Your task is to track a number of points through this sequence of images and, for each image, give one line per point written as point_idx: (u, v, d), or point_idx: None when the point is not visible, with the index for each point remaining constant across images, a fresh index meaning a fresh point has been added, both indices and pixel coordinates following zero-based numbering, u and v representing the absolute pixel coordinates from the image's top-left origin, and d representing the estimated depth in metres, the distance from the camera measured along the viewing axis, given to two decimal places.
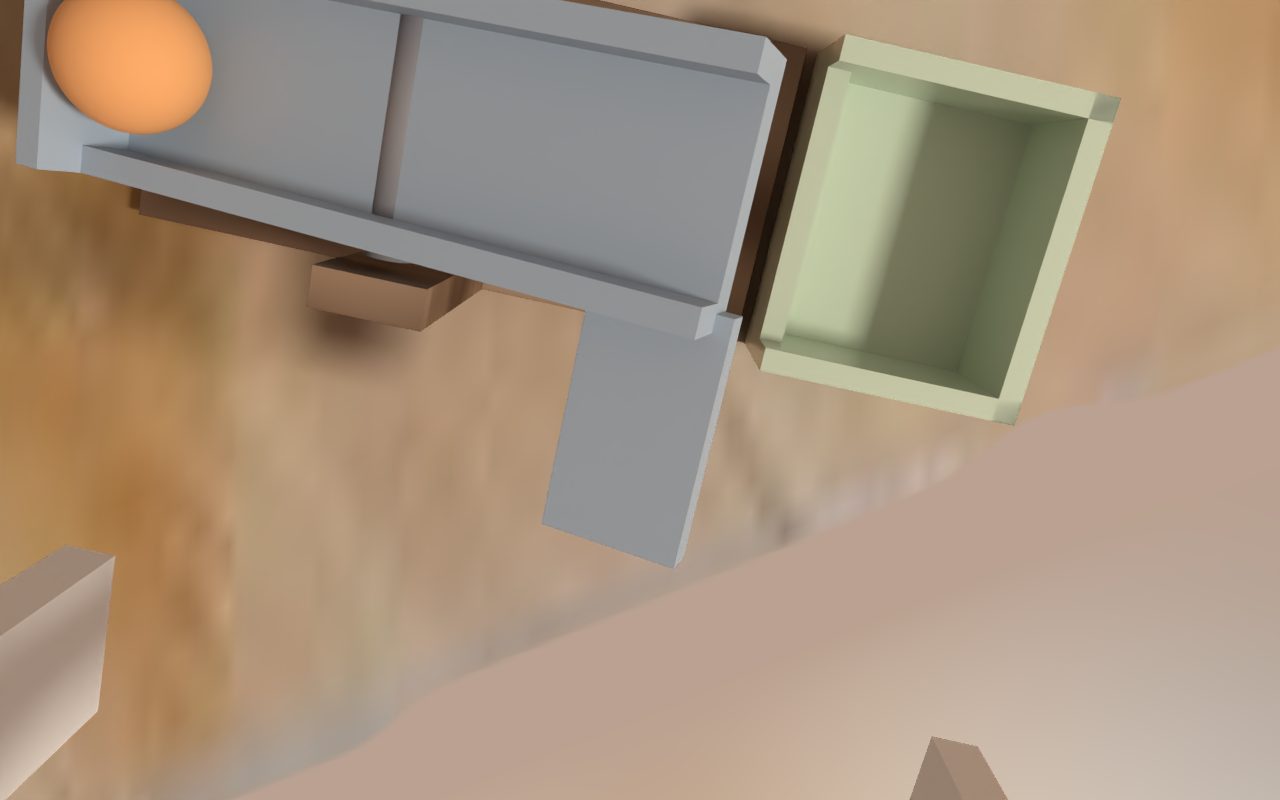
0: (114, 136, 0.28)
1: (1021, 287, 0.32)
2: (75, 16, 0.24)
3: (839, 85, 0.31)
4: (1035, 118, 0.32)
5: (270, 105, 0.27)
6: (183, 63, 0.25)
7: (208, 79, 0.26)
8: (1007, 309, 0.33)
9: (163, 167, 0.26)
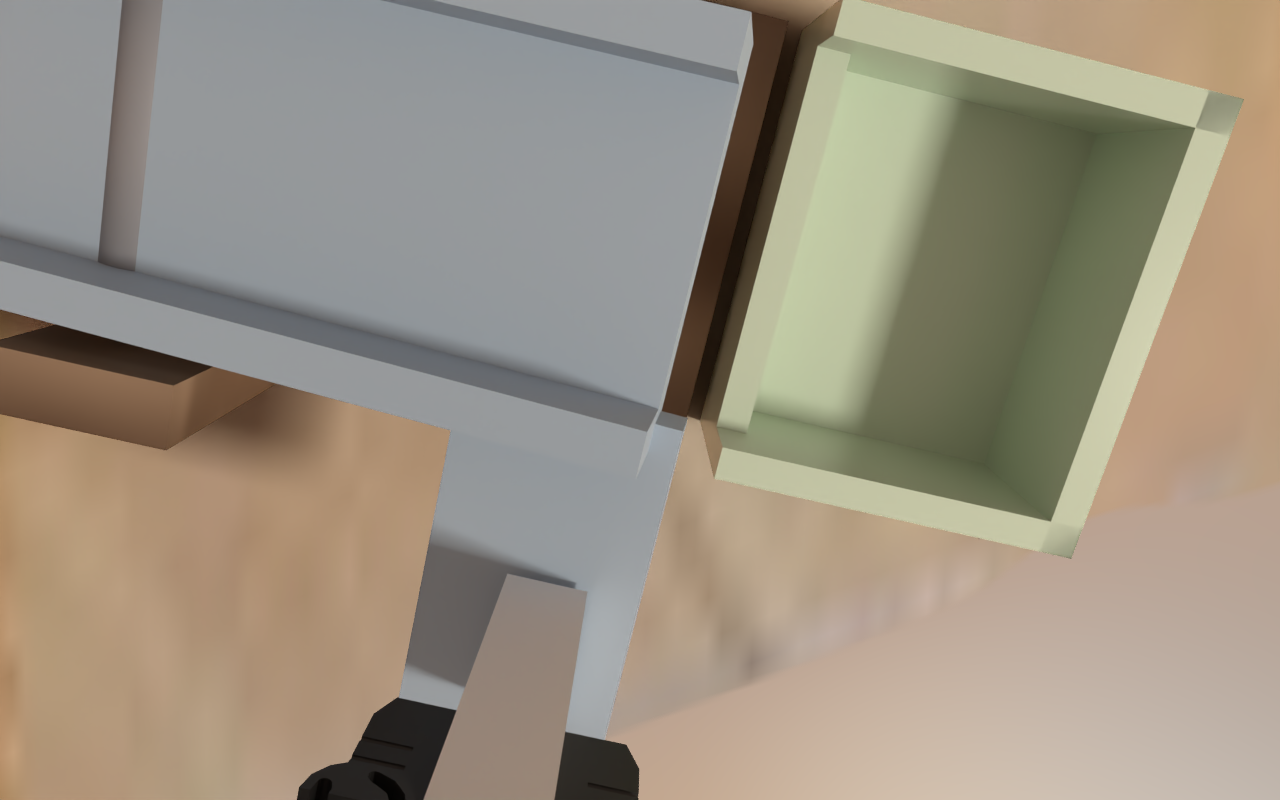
0: None
1: (1085, 365, 0.23)
2: None
3: (833, 73, 0.22)
4: (1107, 125, 0.23)
5: None
6: None
7: None
8: (1062, 392, 0.23)
9: None
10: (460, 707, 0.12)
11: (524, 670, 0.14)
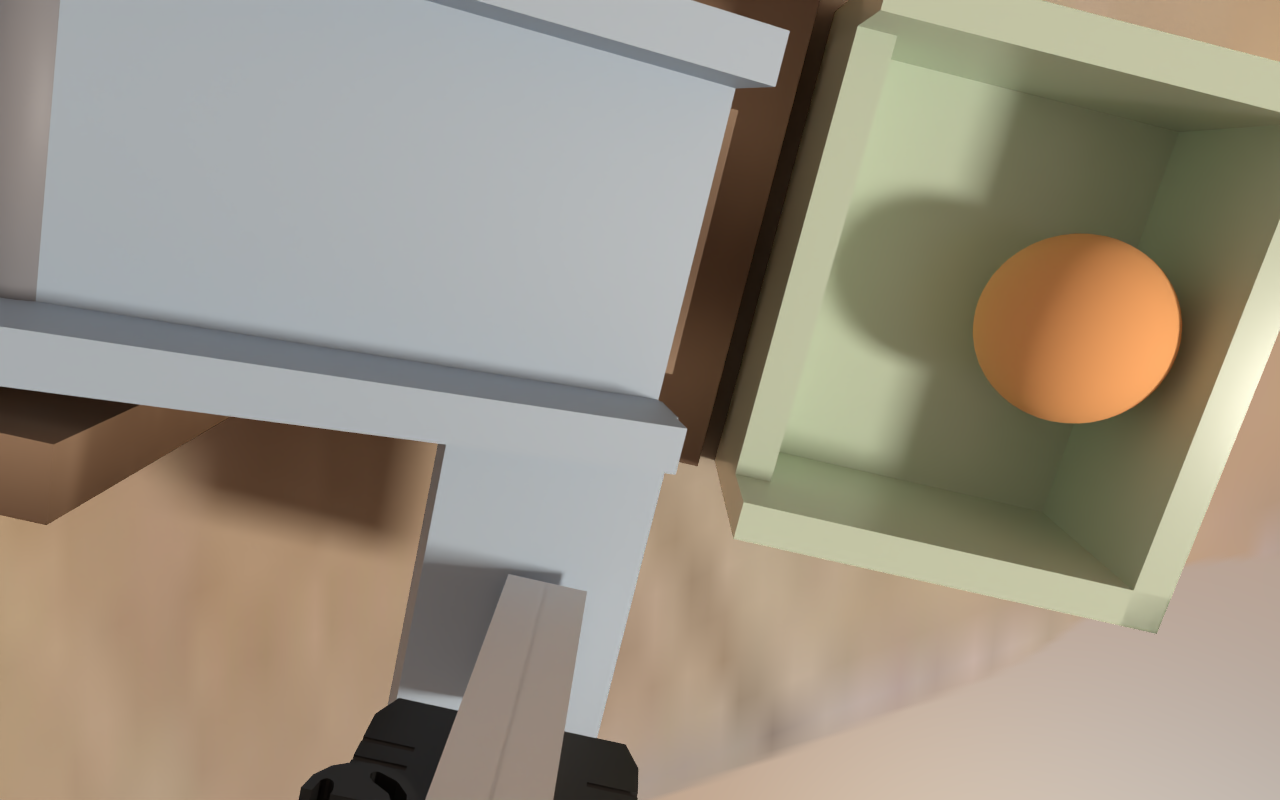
0: None
1: (1173, 404, 0.19)
2: (1175, 319, 0.18)
3: (876, 58, 0.18)
4: (1198, 120, 0.19)
5: None
6: None
7: None
8: (1143, 435, 0.20)
9: None
10: (462, 707, 0.12)
11: (523, 670, 0.14)
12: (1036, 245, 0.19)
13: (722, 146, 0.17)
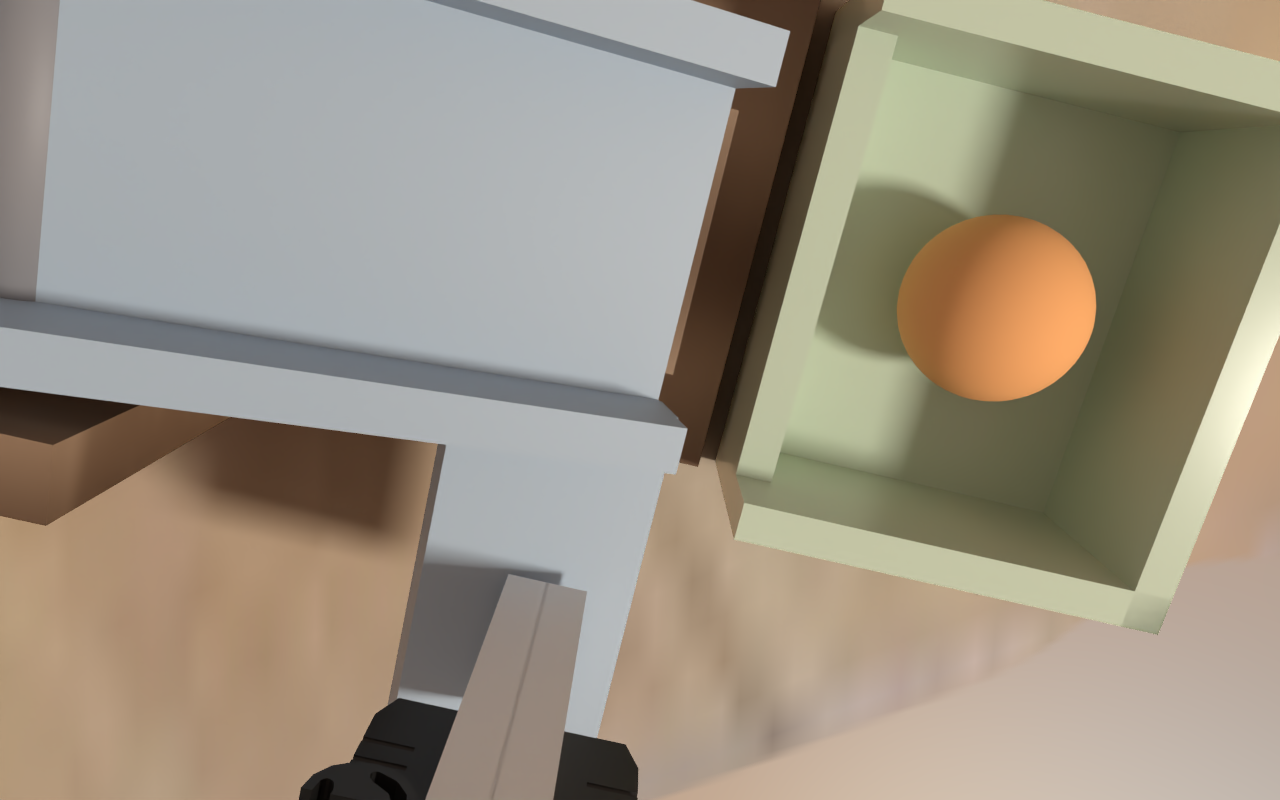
0: None
1: (1175, 404, 0.19)
2: (1088, 297, 0.19)
3: (876, 58, 0.18)
4: (1200, 121, 0.19)
5: None
6: None
7: None
8: (1145, 436, 0.20)
9: None
10: (461, 707, 0.12)
11: (523, 670, 0.14)
12: (956, 226, 0.20)
13: (723, 146, 0.17)
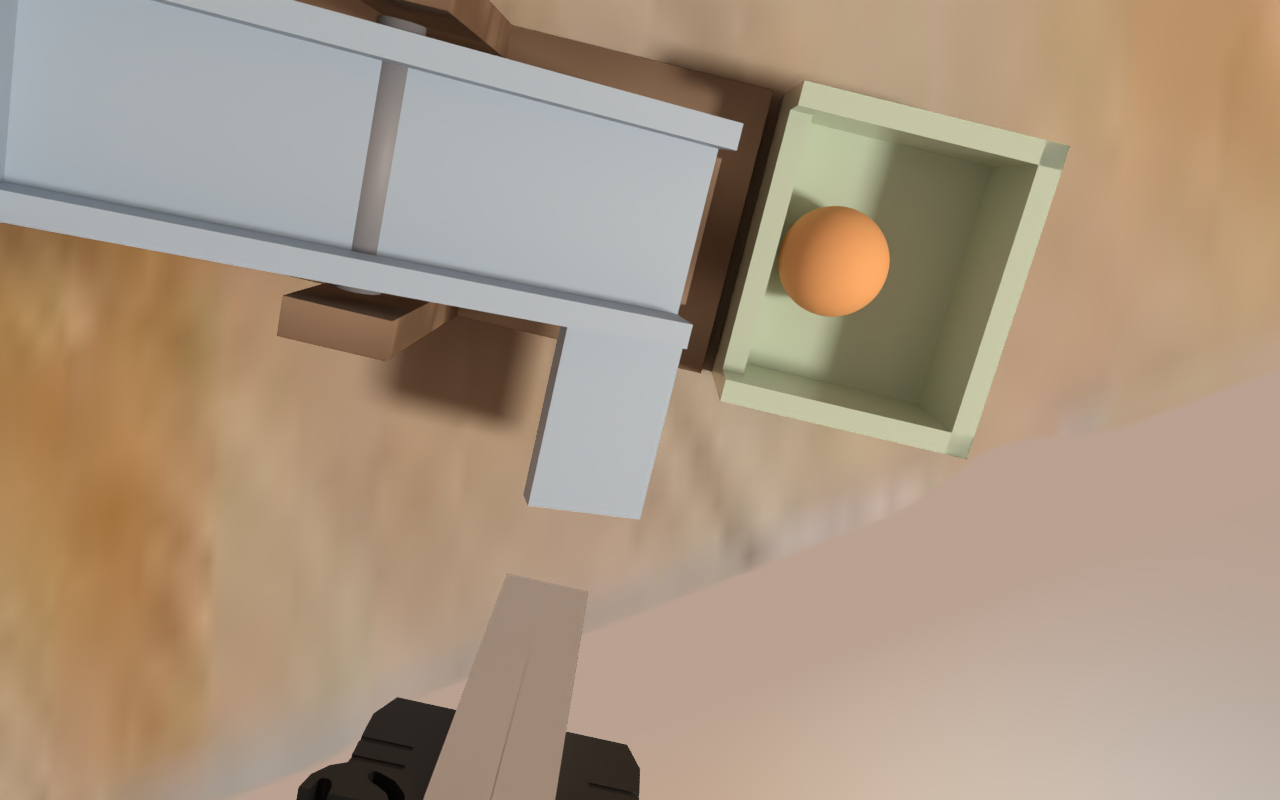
0: None
1: (975, 325, 0.33)
2: (845, 244, 0.32)
3: (801, 127, 0.32)
4: (991, 162, 0.33)
5: (220, 140, 0.26)
6: None
7: None
8: (962, 346, 0.34)
9: (115, 213, 0.24)
10: (460, 707, 0.12)
11: (525, 670, 0.14)
12: None
13: (713, 178, 0.31)
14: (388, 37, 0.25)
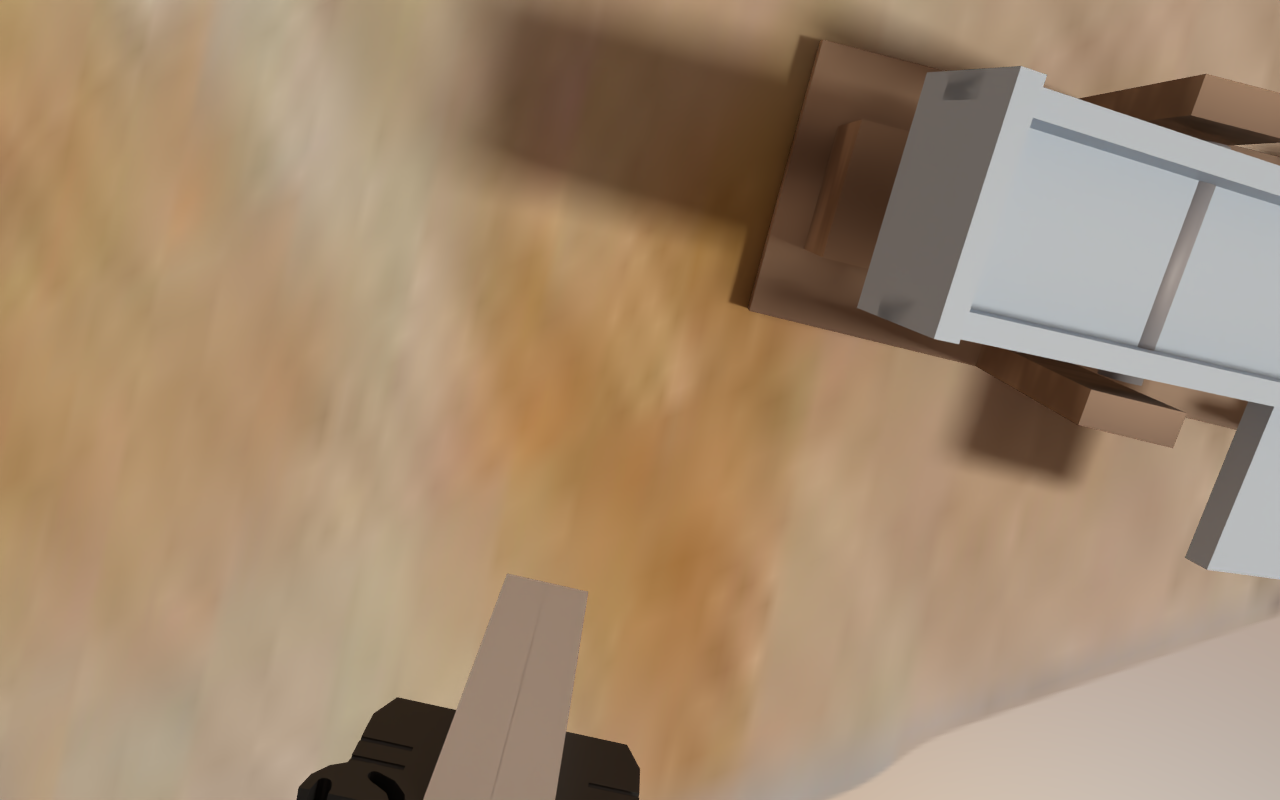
0: None
1: None
2: None
3: None
4: None
5: (1068, 253, 0.28)
6: None
7: None
8: None
9: (1025, 325, 0.27)
10: (459, 707, 0.12)
11: (525, 670, 0.14)
12: None
13: None
14: (1252, 167, 0.27)
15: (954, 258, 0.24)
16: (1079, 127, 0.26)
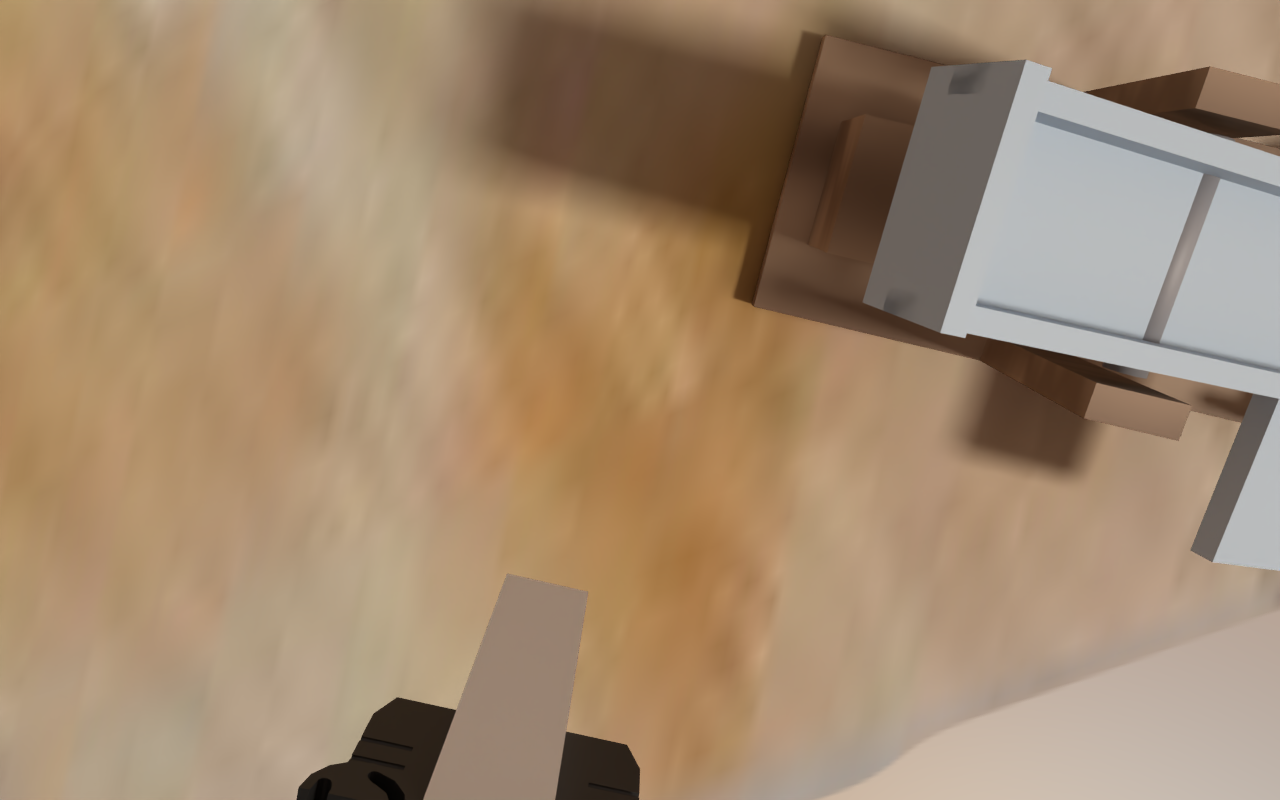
0: None
1: None
2: None
3: None
4: None
5: (1073, 247, 0.29)
6: None
7: None
8: None
9: (1030, 319, 0.27)
10: (460, 707, 0.12)
11: (525, 670, 0.14)
12: None
13: None
14: (1256, 159, 0.27)
15: (960, 252, 0.24)
16: (1084, 120, 0.26)
